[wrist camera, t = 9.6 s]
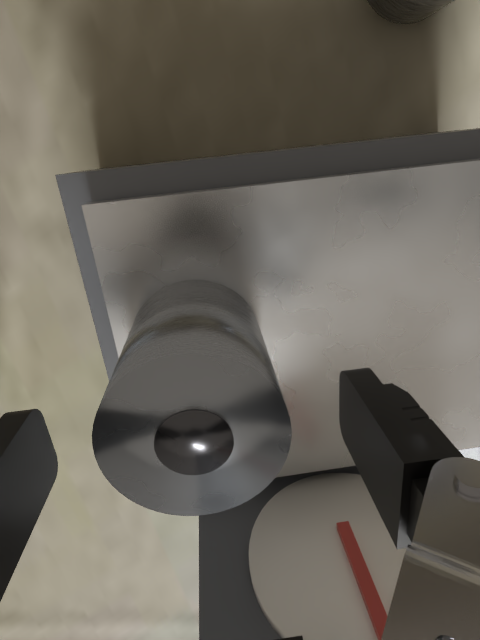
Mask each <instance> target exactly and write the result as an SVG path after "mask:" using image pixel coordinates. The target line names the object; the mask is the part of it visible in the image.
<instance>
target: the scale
mask: <svg viewBox="0 0 480 640" xmlns="http://www.w3.org/2000/svg"><path fill="white" fill-rule="evenodd" d="M471 159H480V128H477V129H467V130H456V131H446V132H435V133H426V134H417V135H408V136H398V137H389V138H380V139H371V140H361V141H352V142H343V143H334V144H324V145H315V146H306V147H297V148H287V149H278V150H269V151H260V152H250V153H241V154H232V155H223V156H213V157H204V158H195V159H186V160H176V161H167V162H158V163H149V164H139V165H130V166H121V167H112V168H102V169H95V170H88V171H81V172H74V173H66V174H59V175H56V179H57V183H58V187H59V191H60V195H61V198H62V202H63V206H64V210H65V214H66V217H67V221H68V225H69V229H70V233H71V237H72V240H73V244H74V248H75V252H76V256H77V260H78V263H79V267H80V271H81V275H82V279H83V282H84V286H85V290H86V294H87V298H88V302H89V305H90V309H91V313H92V317H93V321H94V325H95V328H96V332H97V336H98V340H99V344H100V347H101V351H102V355H103V359H104V363H105V367H106V370H107V374H108V378H109V381H110V379H111V376H112V374H113V371H114V369H115V367H116V364H117V362H118V359H119V357H118V353H117V349H116V345H115V341H114V336H113V332H112V328H111V324H110V320H109V316H108V312H107V308H106V304H105V300H104V296H103V291H102V287H101V283H100V279H99V275H98V271H97V267H96V263H95V259H94V255H93V251H92V247H91V242H90V238H89V234H88V230H87V226H86V222H85V218H84V214H83V210H82V206H81V205H83V204H85V203H88V202H97V201H106V200H115V199H124V198H133V197H141V196H150V195H159V194H168V193H177V192H186V191H195V190H204V189H213V188H222V187H231V186H239V185H248V184H257V183H266V182H275V181H284V180H293V179H302V178H311V177H320V176H329V175H338V174H346V173H355V172H364V171H373V170H382V169H391V168H400V167H409V166H418V165H427V164H436V163H444V162H453V161H462V160H471ZM405 551H406V548H402V549H396V547H395V545H394V542H393V540H392V538H391V536H390V534H389V532H388V530H387V528H386V526H385V524H384V522H383V520H382V518H381V516H380V514H379V512H378V510H377V508H376V506H375V504H374V502H373V500H372V498H371V495H370V493H369V491H368V489H367V487H366V485H365V483H364V481H363V479H362V477H361V475H360V473H359V471H358V469H357V467H356V466H349V467H342V468H336V469H329V470H323V471H316V472H309V473H303V474H296V475H289V476H283V477H276V478H275V479H274V480H273V481H272V482H271V483H270V484H269V485H268V486H267V487H266V488H265V489H264V490H263V491H261V492H260V493H259V494H257V495H256V496H255V497H253V498H252V499H250V500H248V501H246V502H244V503H243V504H241V505H238V506H236V507H234V508H231V509H228V510H225V511H222V512H218V513H213V514H208V515H199V640H276V639H282V638H289V637H295V636H301V635H302V637H303V640H381V638H382V635H383V631H384V627H385V624H386V620H387V616H388V613H389V609H390V605H391V602H392V598H393V594H394V591H395V587H396V583H397V580H398V576H399V572H400V569H401V565H402V561H403V558H404V554H405Z"/></svg>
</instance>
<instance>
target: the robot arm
mask: <svg viewBox="0 0 480 640" xmlns="http://www.w3.org/2000/svg"><path fill="white" fill-rule="evenodd" d="M339 423H340V429H341V433H342V437H343V440H344V442H345V444H346V446H347V448H348V451H349V453H350V455H351V457H352V459H353V461H354V463H355V465H356V467H357V469H358V471H359V473H360V475H361V477H362V479H363V481H364V483H365V485H366V487H367V489H368V491H369V493H370V495H371V498H372V500H373V502H374V504H375V506H376V508H377V510H378V512H379V514H380V516H381V518H382V520H383V522H384V524H385V526H386V528H387V530H388V532H389V534H390V536H391V538H392V540H393V542H394V545H395V547H396V549H402V548H406V551H405V554H404V558H403V561H402V565H401V569H400V572H399V576H398V580H397V583H396V587H395V591H394V594H393V598H392V602H391V605H390V609H389V613H388V616H387V620H386V624H385V627H384V631H383V635H382V638H381V640H480V461H477V460H474V459H470V458H464V456H463V455H462V454H461V453H460V452H459V451H458V449H457V448H456V447H455V446H454V445H453V444H452V442H451V441H450V440H449V439H448V438H447V437H446V435H445V434H444V433H443V432H442V431H441V430H440V428H439V427H438V426H437V425H436V424H435V423H434V421H433V420H432V419H429V416H428V414H427V413H426V412H425V411H424V410H423V409H422V408H420V405H419V404H418V403H417V402H416V400H415V399H414V398H413V397H412V396H411V395H410V394H409V393H408V392H407V391H405V390H403V389H401V388H400V387H398V386H396V385H394V384H393V383H390V384H382V382H381V381H380V380H379V378H378V377H377V376H376V375H375V373H374V372H373V371H372V370H371V369H370V368H360V369H352V370H344V371H341V372H340V376H339ZM57 470H58V461H57V455H56V452H55V449H54V446H53V443H52V441H51V438H50V435H49V432H48V429H47V426H46V423H45V420H44V417H43V415H42V413H41V412H40V411H39V410H38V409H31V410H23V411H15V412H8V413H5V414H4V415H3V416H2V417H1V418H0V601H1V599H2V597H3V594H4V592H5V590H6V588H7V586H8V583H9V581H10V579H11V577H12V575H13V572H14V570H15V568H16V566H17V564H18V561H19V559H20V557H21V555H22V552H23V550H24V548H25V546H26V544H27V541H28V539H29V537H30V535H31V533H32V530H33V528H34V526H35V524H36V522H37V519H38V517H39V515H40V513H41V510H42V508H43V506H44V504H45V502H46V499H47V497H48V495H49V493H50V491H51V488H52V486H53V484H54V482H55V479H56V476H57ZM276 640H303V637H302V635H301V636H295V637H289V638H282V639H276Z"/></svg>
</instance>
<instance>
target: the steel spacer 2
mask: <svg viewBox="0 0 480 640" xmlns="http://www.w3.org/2000/svg"><path fill="white" fill-rule="evenodd" d="M453 1H454V0H368V2H369V4H370V5H371V7H372V8H373V9H374V10H375V11H376V12H377V13H378V14H379V15H380V16H382V17H383V18H385V19H387V20H389V21H391V22H394V23H400V24H409V23H414V22H417V21H420V20H422V19H424V18H426V17H428V16H430V15H432V14H433V13H435V12H436V11H438V10H440V9H441V8H443V7H445V6H446V5H448V4H450V3H451V2H453Z"/></svg>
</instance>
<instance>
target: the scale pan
mask: <svg viewBox="0 0 480 640" xmlns="http://www.w3.org/2000/svg"><path fill="white" fill-rule="evenodd" d="M81 206H82V210H83V214H84V218H85V222H86V226H87V230H88V234H89V238H90V242H91V247H92V251H93V255H94V259H95V263H96V267H97V271H98V275H99V279H100V283H101V287H102V291H103V296H104V300H105V304H106V308H107V312H108V316H109V320H110V324H111V328H112V332H113V336H114V341H115V345H116V349H117V353H118V357H120V354H121V352H122V349H123V347H124V344H125V342H126V340H127V337H128V335H129V332H130V330H131V327H132V325H133V322H134V320H135V318H136V315H137V313H138V311H139V310H140V308H141V307H142V305H143V304H144V303H145V302H146V301H147V299H148V298H149V297H151V296H152V295H153V294H154V293H155V292H157V291H159V290H160V289H162V288H164V287H166V286H168V285H170V284H173V283H176V282H180V281H185V280H207V281H212V282H216V283H219V284H222V285H224V286H226V287H228V288H230V289H232V290H233V291H235V292H236V293H238V294H239V295H240V296H241V297H242V298H243V299H244V300H245V301H246V302H247V303H248V304H249V306H250V307H251V309H252V310H253V312H254V314H255V316H256V318H257V321H258V324H259V327H260V330H261V333H262V336H263V339H264V342H265V345H266V348H267V351H268V353H269V356H270V359H271V362H272V365H273V368H274V371H275V374H276V377H277V380H278V383H279V386H280V389H281V392H282V395H283V398H284V401H285V404H286V407H287V410H288V413H289V416H290V421H291V428H292V438H291V445H290V450H289V453H288V456H287V459H286V461H285V463H284V465H283V467H282V469H281V470H280V472H279V473H278V475H277V476H276V477H283V476H289V475H296V474H303V473H309V472H316V471H323V470H329V469H336V468H342V467H349V466H356V465H355V463H354V461H353V459H352V457H351V455H350V453H349V451H348V448H347V446H346V444H345V442H344V440H343V437H342V433H341V429H340V423H339V376H340V372H341V371H344V370H352V369H360V368H370V369H371V370H372V371H373V372H374V373H375V375H376V376H377V377H378V378H379V380H380V381H381V382H382V384H390V383H393V384H394V385H396V386H398V387H400V388H401V389H403V390H405V391H407V392H408V393H409V394H410V395H411V396H412V397H413V398H414V399H415V400H416V402H417V403H418V404H419V405H420V408H422V409H423V410H424V411H425V412H426V413H427V414H428V416H429V419H432V420H433V421H434V423H435V424H436V425H437V426H438V427H439V428H440V430H441V431H442V432H443V433H444V434H445V435H446V437H447V438H448V439H449V440H450V441H451V442H452V444H453V445H454V446H455V447H456V448H457V449H458V450H462V449H469V448H475V447H480V159H471V160H462V161H453V162H444V163H436V164H427V165H418V166H409V167H400V168H391V169H382V170H373V171H364V172H355V173H346V174H338V175H329V176H320V177H311V178H302V179H293V180H284V181H275V182H266V183H257V184H248V185H239V186H231V187H222V188H213V189H204V190H195V191H186V192H177V193H168V194H159V195H150V196H141V197H133V198H124V199H115V200H106V201H97V202H88V203H85V204H83V205H81ZM276 477H275V478H276Z"/></svg>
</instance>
